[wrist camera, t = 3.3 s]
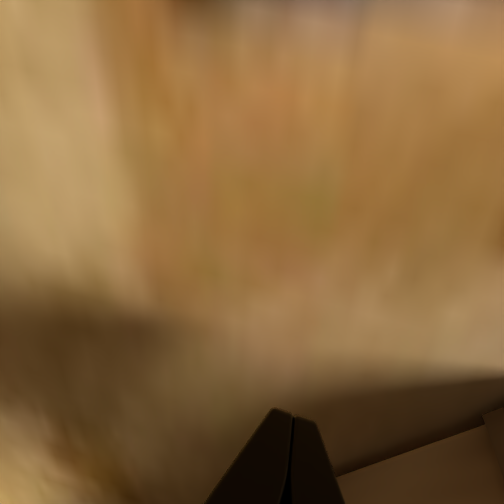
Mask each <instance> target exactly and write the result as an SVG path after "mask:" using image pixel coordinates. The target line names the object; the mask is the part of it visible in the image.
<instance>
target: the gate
mask: <svg viewBox="0 0 504 504" xmlns="http://www.w3.org/2000/svg"><path fill="white" fill-rule="evenodd" d="M482 417H483V420H484V423H485V425H482V426H479V427H477V428H474V429H471V430H468V431H465V432H462V433H460V434H457V435H454V436H451V437H448V438H446V439H443V440H440V441H437V442H434V443H431V444H429V445H426V446H423V447H420V448H417V449H415V450H412V451H409V452H406V453H403V454H400V455H398V456H395V457H392V458H389V459H386V460H384V461H381V462H378V463H375V464H372V465H370V466H367V467H364V468H361V469H358V470H355V471H353V472H350V473H347V474H344V475H341V476H339V477H336V479H337V482H338V484H339V487H340V490H341V493H342V496H343V498H344V501H345V504H504V407H503V408H500V409H497V410H495V411H492V412H489V413H486V414H484V415H482Z"/></svg>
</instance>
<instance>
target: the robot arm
mask: <svg viewBox="0 0 504 504" xmlns="http://www.w3.org/2000/svg"><path fill="white" fill-rule="evenodd" d="M204 504H345V501H344V498H343V496H342V493H341V490H340V487H339V484H338V482H337V479H336V476H335V473H334V470H333V468H332V465H331V462H330V459H329V456H328V454H327V451H326V448H325V445H324V442H323V440H322V437H321V434H320V431H319V428H318V426H317V423H316V422H315V421H314V420H312V419H309V418H306V417H303V416H300V415H294V416H293V415H292V413H290V412H288V411H285V410H282V409H278V408H275V407H274V408H272V409H270V411H269V412H268V414H267V415H266V416H265V418H264V419H263V421H262V422H261V423H260V425H259V426H258V428H257V429H256V431H255V432H254V433H253V435H252V436H251V438H250V439H249V440H248V442H247V443H246V445H245V446H244V447H243V449H242V450H241V452H240V453H239V455H238V456H237V457H236V459H235V460H234V462H233V463H232V464H231V466H230V467H229V469H228V470H227V471H226V473H225V474H224V476H223V477H222V478H221V480H220V481H219V483H218V484H217V486H216V487H215V488H214V490H213V491H212V493H211V494H210V495H209V497H208V498H207V500H206V501H205V502H204Z"/></svg>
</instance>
